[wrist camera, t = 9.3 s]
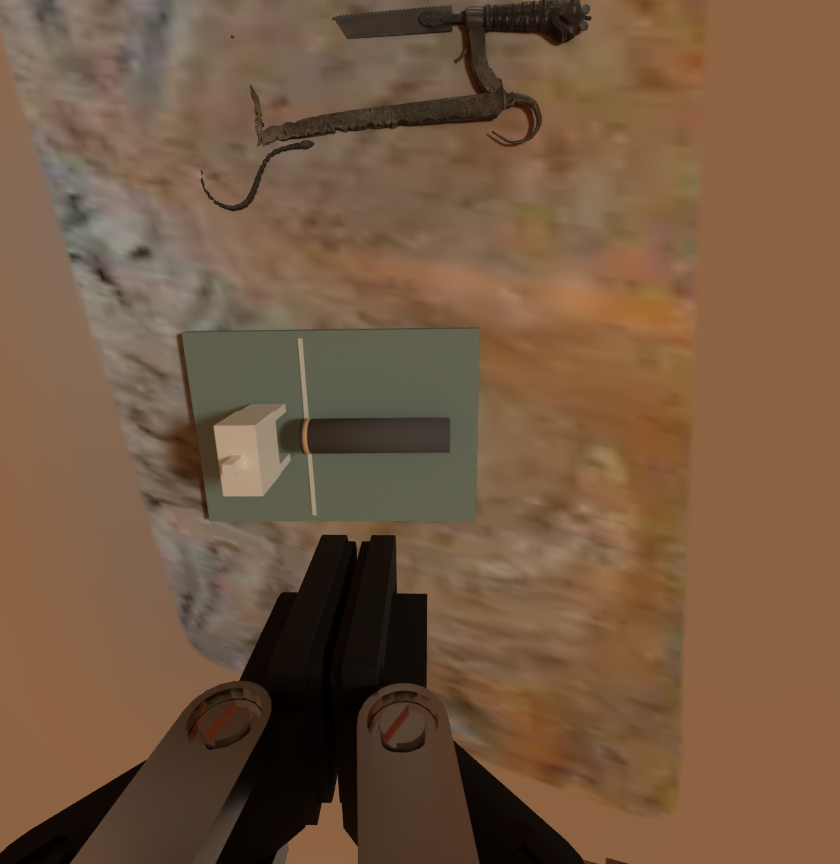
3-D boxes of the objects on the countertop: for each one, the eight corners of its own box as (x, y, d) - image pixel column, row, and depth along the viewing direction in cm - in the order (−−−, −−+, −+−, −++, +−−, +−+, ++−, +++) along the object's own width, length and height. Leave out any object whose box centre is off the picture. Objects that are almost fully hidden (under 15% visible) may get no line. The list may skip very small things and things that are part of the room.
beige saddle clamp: (250, 402, 34) (201, 433, 26) (285, 402, 34) (244, 433, 26) (257, 462, 35) (211, 507, 28) (290, 462, 35) (253, 507, 28)
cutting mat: (187, 331, 34) (180, 332, 33) (478, 327, 33) (479, 328, 32) (214, 516, 38) (209, 521, 37) (474, 515, 37) (475, 521, 36)
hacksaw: (587, -1, 28) (596, -17, 27) (579, 194, 31) (586, 189, 30) (178, 27, 29) (165, 13, 28) (207, 214, 32) (196, 210, 30)
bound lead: (306, 414, 34) (297, 423, 32) (448, 412, 34) (450, 422, 32) (309, 447, 35) (300, 459, 33) (448, 447, 35) (450, 458, 32)
